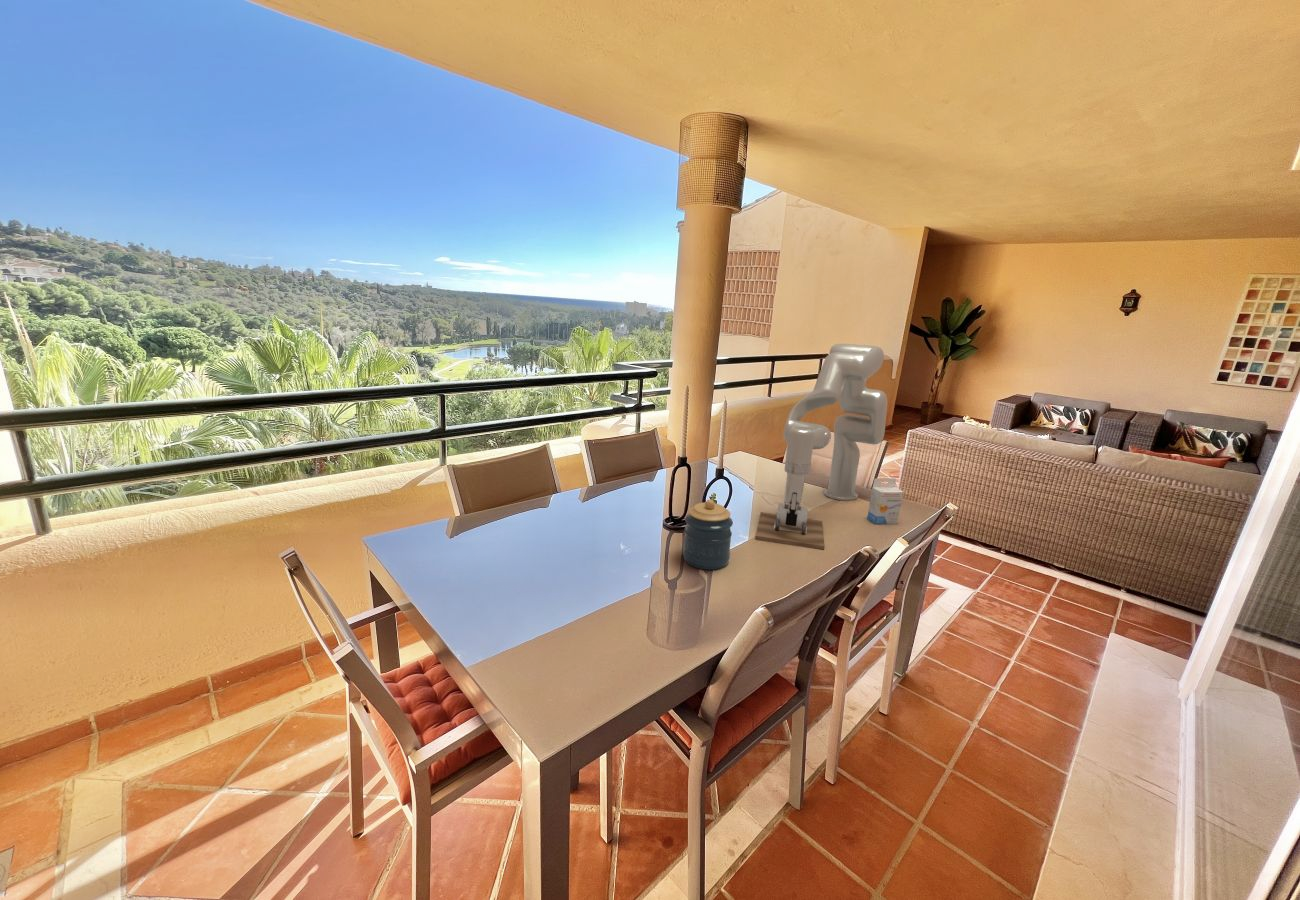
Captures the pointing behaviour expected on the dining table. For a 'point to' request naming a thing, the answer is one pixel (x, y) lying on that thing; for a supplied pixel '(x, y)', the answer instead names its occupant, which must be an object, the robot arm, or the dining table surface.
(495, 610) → the dining table surface
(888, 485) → the ink box
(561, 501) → the dining table surface
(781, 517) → the drive
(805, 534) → the pin tray
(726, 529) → the canister
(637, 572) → the dining table surface
